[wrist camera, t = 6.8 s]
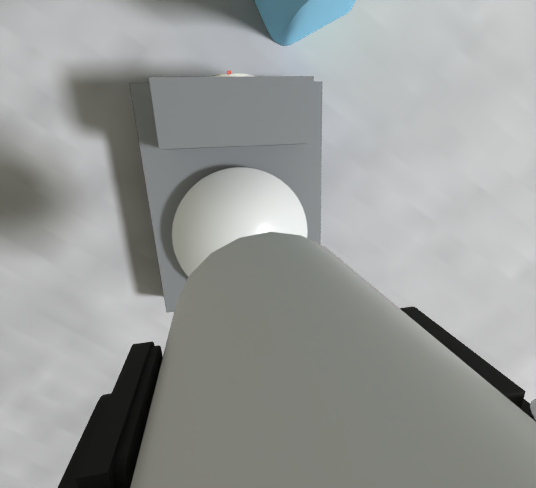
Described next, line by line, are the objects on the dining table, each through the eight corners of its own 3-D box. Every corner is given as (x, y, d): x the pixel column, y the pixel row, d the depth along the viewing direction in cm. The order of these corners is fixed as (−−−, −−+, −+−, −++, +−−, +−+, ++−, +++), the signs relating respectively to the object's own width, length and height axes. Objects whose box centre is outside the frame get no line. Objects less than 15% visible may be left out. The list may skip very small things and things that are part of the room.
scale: (310, 281, 31) (336, 315, 24) (171, 296, 29) (158, 339, 22) (310, 89, 26) (343, 67, 19) (139, 91, 24) (110, 67, 17)
